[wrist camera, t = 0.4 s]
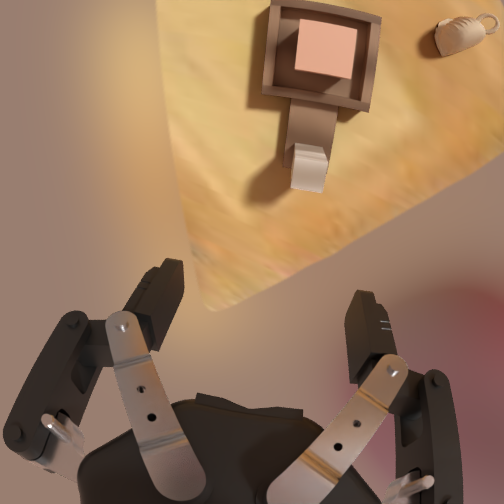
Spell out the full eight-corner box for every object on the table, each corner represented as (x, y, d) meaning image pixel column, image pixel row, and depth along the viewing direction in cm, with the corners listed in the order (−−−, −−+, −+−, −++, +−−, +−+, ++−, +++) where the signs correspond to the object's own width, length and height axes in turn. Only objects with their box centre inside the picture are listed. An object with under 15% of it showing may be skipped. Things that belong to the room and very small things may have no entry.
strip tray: (273, 2, 22) (266, -17, 16) (375, 20, 21) (396, 8, 15) (257, 160, 33) (247, 182, 27) (350, 175, 32) (362, 200, 26)
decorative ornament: (424, 26, 20) (444, 20, 16) (471, 13, 17) (494, 9, 12) (440, 57, 22) (462, 56, 17) (485, 42, 18) (509, 42, 14)
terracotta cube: (299, 27, 23) (300, 18, 19) (347, 36, 22) (357, 29, 18) (294, 70, 26) (294, 68, 21) (342, 78, 25) (350, 79, 21)
